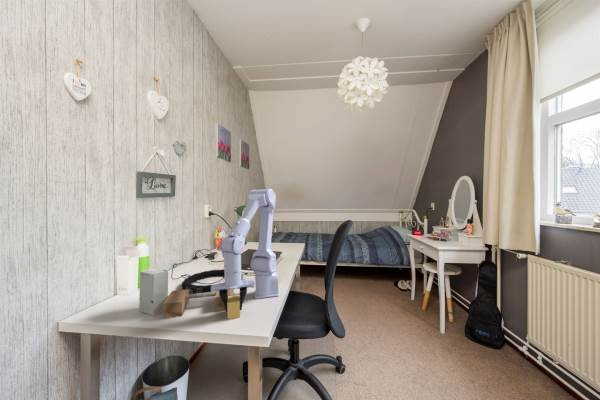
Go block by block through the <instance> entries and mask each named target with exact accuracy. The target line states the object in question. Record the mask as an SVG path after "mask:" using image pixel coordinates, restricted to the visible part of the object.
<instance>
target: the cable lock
mask: <svg viewBox="0 0 600 400" xmlns="http://www.w3.org/2000/svg"><path fill="white" fill-rule="evenodd" d="M223 275H224V268H223V269H222V268H221V269H211V270H205V271H201V272H197V273H195V274H192V275H190V276H189V275H188V277H187V278H185V279H184V280H183V281H182V282H181V287H182V289H181V290H186V289H189V294H197V293H206V292H211V285H212V284H207V285H206V284H205V285H197V284H193V283H195V282H197V280H198V281H200V280H202V279H208V278H209V279H210V278H213V277H215V278H216V277H224V276H223ZM243 277H244V276H243V274H242V273H241V278H242V280H243ZM221 283H222V282H220V283H219V284H221ZM223 283H225V281H224V282H223Z"/></svg>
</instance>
